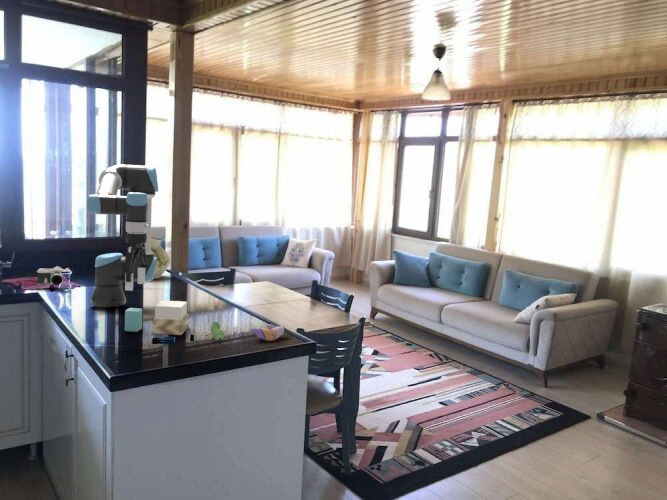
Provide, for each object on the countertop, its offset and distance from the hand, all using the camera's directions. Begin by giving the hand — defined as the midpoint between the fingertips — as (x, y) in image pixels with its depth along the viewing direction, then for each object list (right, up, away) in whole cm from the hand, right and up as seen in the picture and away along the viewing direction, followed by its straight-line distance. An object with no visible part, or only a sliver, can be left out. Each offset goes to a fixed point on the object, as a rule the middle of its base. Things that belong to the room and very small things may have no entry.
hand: (135, 287), depth 210 cm
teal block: (-1, -17, +2) cm, 17 cm away
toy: (+46, -17, -4) cm, 50 cm away
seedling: (+28, -19, -1) cm, 34 cm away
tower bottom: (+13, -18, +4) cm, 22 cm away
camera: (-69, -4, +72) cm, 100 cm away
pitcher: (-32, -2, +109) cm, 113 cm away
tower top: (+13, -12, +3) cm, 18 cm away
